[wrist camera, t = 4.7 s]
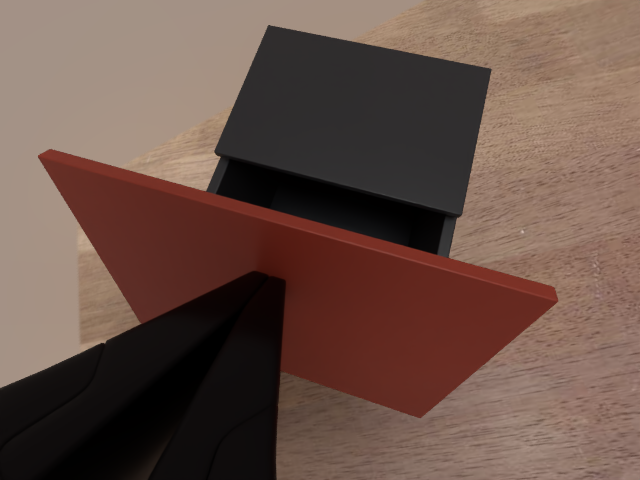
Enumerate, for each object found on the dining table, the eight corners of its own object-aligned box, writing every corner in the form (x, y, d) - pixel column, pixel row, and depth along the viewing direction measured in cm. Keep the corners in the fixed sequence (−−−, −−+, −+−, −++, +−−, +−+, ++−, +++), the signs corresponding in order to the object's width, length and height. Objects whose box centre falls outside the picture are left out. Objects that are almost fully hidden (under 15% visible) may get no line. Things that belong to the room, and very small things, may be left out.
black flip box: (383, 373, 20) (422, 416, 11) (223, 321, 21) (140, 320, 12) (432, 166, 23) (493, 67, 14) (293, 132, 24) (267, 23, 16)
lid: (421, 408, 11) (420, 418, 11) (146, 316, 12) (140, 323, 12) (554, 285, 6) (559, 301, 5) (49, 148, 7) (36, 155, 7)
